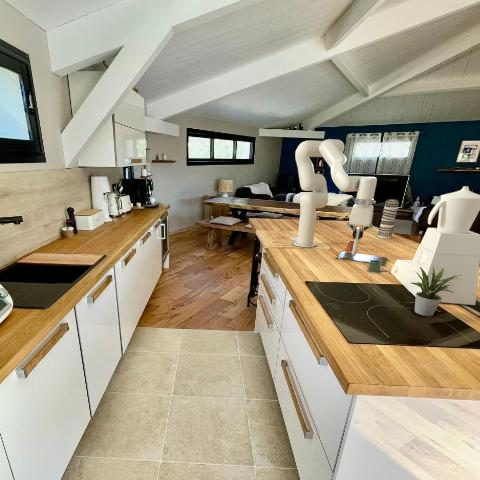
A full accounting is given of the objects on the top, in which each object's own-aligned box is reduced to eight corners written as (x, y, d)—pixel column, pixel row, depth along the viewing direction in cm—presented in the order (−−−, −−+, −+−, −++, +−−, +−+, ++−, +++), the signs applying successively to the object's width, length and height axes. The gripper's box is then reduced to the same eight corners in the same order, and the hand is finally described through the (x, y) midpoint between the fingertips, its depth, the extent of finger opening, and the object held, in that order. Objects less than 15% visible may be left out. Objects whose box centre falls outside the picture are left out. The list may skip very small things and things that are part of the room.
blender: (387, 273, 145) (409, 182, 130) (433, 276, 141) (461, 183, 126) (416, 301, 115) (449, 188, 101) (474, 306, 111) (518, 189, 96)
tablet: (336, 259, 166) (336, 257, 166) (342, 252, 179) (342, 251, 178) (383, 266, 155) (383, 264, 154) (386, 258, 167) (386, 257, 167)
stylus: (351, 255, 168) (356, 228, 162) (351, 255, 169) (357, 227, 164) (355, 256, 167) (360, 228, 161) (355, 255, 168) (361, 227, 163)
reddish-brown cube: (345, 250, 184) (347, 241, 182) (347, 248, 188) (348, 240, 186) (354, 251, 182) (356, 242, 180) (355, 249, 185) (357, 241, 183)
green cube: (367, 272, 147) (369, 261, 145) (368, 269, 150) (371, 259, 148) (378, 273, 144) (381, 263, 142) (379, 271, 148) (382, 261, 146)
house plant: (454, 328, 96) (472, 278, 90) (401, 317, 103) (414, 270, 97) (449, 311, 107) (464, 266, 101) (401, 302, 114) (413, 259, 108)
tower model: (391, 238, 212) (400, 200, 202) (376, 237, 216) (384, 200, 207) (392, 236, 219) (401, 199, 210) (377, 235, 223) (385, 198, 214)
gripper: (382, 203, 157) (374, 239, 163) (348, 201, 165) (342, 235, 172) (381, 204, 151) (372, 241, 158) (345, 202, 159) (339, 238, 166)
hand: (356, 238), depth 165 cm, fingers closed on stylus, 2 cm apart
